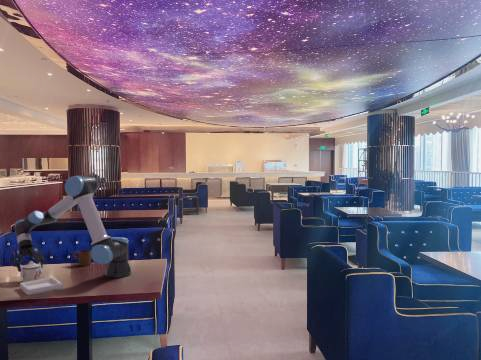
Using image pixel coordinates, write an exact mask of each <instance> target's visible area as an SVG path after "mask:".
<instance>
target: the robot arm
mask: <svg viewBox="0 0 481 360" xmlns="http://www.w3.org/2000/svg"><path fill="white" fill-rule="evenodd" d="M98 188H99V182H98V179H96V177H94V176H92V175H75V176H70V177H69V178H68V179H67V180H66V181H65V183H64V190H65V193H66V196H64V197H63V198H61V200H59V201H58V202H57V203H56V204H54V205H53V206H51V207H50V208H49V209H47V210H46V211H43V212H41V211H40V210H39V211H38V210H34V211H32V212H30V213H29V214H28V215H27V216H26V218H24V219H19V220H16V221H15V222H14V223H13V224H14V225H13V226H14V231H15V235H16V241H17V246H18V250H14V251H13V256H14V257H13V265H12V266H13V267H14V268H15V267H16V268H17V272H18V273H19V272H20V277H21V278H23V275H24V273H23V269H22V267H23V264H21V263H22V261H23V259H24V258H25V257H31V258H33V259H34V261H36V264H39V265H40V275H42V273H43V268H44V266H43V264H44V263H45V262H46V261H45V260H46V259H45V257H44V256H43V253H42V252H41V249H40V247H37V248H34V244H33V241H32V236H31V232H32V230H33V229H34V228H36V227H37V226H42V225H49V224H53V223H56V222H57V221H58V219H59V217H61V216H62V215H63V214H64V213H66V212H68V211H69V210H70V209H72V208H73V207H74V206H76V205H78V208H79V210H80V213H81V215H82V217H83V220H84V223H85V226H86V227H87V230H88V234H89V236H90V237H91V241H92V242H91V244H90V245H91V250H90V251H91V260H93V262H94V263H96V264H98V265H106V264H107V266H106V270H105V277H106V278H110V279H114V278H115V279H119V278H126V277H129V276H131V275H132V269H131V266H130V263H129V239H128V238H127V237H119V236H117V237H115V236H114V237H111V236H110V235H109V234H107V231H106V229H105V226H104V224H103V221H102V219H101V216H100V213H99V211H98V208H97V206H96V204H95V201H94V199H93V197H94V194H95V193H96V192H98V191H97V190H98ZM19 254H20V259H19V260H18V255H19ZM17 261H18V262H17Z"/></svg>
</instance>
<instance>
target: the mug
mask: <svg viewBox="0 0 481 360" xmlns="http://www.w3.org/2000/svg"><path fill="white" fill-rule="evenodd" d="M77 255H78V256H77ZM72 257H73V259H75V260H78V265H79V266H81V267H86V266H90V265H91V264H92V257H91V250H90V249H83V250H79V251H73V252H72Z"/></svg>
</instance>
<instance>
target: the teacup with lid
mask: <svg viewBox="0 0 481 360" xmlns="http://www.w3.org/2000/svg"><path fill="white" fill-rule="evenodd" d="M22 269H23V273H24V275H23V277H22V282H28V281H34V280H40V277H41V276H40V275H41V274H40V265H39V264H38V263H35V262H34V261H32V260H30V261H29V262H28V263H27V264H25V265H22Z"/></svg>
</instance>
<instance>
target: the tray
mask: <svg viewBox="0 0 481 360" xmlns="http://www.w3.org/2000/svg"><path fill="white" fill-rule="evenodd" d="M19 289H20V290H21V291H22V292H23V293H24V294H26V295H27V297H30V296H35V295H40V294H45V293H51V292H56V291H60V290H64V283H62V282H61V281H59V280H58V279H56V278H55V277H47V278H41V279H40V280H34V281H28V282H23V281H22V282H20V283H19Z"/></svg>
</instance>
